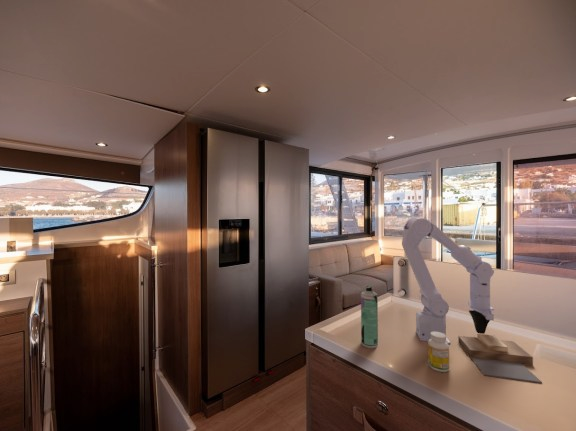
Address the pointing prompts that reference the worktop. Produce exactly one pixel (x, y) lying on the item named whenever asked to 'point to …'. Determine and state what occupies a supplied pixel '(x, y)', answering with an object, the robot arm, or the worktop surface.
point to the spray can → (369, 318)
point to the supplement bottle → (438, 352)
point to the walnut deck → (480, 351)
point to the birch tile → (492, 342)
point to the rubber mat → (505, 370)
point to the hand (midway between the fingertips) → (480, 332)
